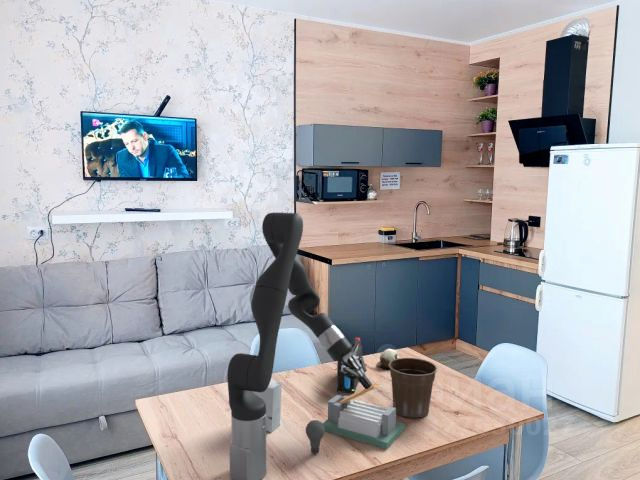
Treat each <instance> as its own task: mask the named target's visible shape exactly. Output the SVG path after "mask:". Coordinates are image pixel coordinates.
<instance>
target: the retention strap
mask: <svg viewBox="0 0 640 480" xmlns="http://www.w3.org/2000/svg"><path fill="white" fill-rule="evenodd" d="M380 385H381V384H380V382H376V383H374V384H372V385H371V386H370V387H369V388H368V389H365V388H362V390H359V391H357V392H354V393H352V394H351V395H349V397H347V398H345V399H343V400H342V401H340V402H339V403H341V404H344V403H346V402H348V401H350V402H351V401H352V400H355V399H356V398H358V397H360V396H362V395H364V394H366V393H368V392H371V391H372V390H375V389H376V388H377V387H378V386H380Z"/></svg>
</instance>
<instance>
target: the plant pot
mask: <svg viewBox="0 0 640 480" xmlns="http://www.w3.org/2000/svg"><path fill="white" fill-rule="evenodd" d="M389 368H390V371H389V372H390V373H389V374H390V378H391V389H392V407H394V408H396V415H398V416H401V417H404V418H409V419H417V418H420V417H421V418H424V417H427V416H428V415H429V411H430V405H431V398H432V390H433V385H434V382H435V378H436V373H437V372H438V367H437V365H436V364H435V363H434V362H431V361H429V360H426V359H422V358H418V357H417V358H415V357H399V359H395V360H392V361H391V362H390V363H389Z"/></svg>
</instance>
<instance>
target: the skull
mask: <svg viewBox="0 0 640 480" xmlns="http://www.w3.org/2000/svg"><path fill="white" fill-rule="evenodd" d="M399 358H400V356H399V355H398V352H397V351H396V350H395V349H392V348H387V349H385V350H384V351H383V352H382V353H381V354H380V357H379V361H378V362H377V363H376V365H375V366H376V368H380V369H381V368H382V369H385V371H386V370H387V371H389V372H390V368H389V363H390V362H391V361H392V360H395V359H399Z"/></svg>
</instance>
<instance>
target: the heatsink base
mask: <svg viewBox="0 0 640 480" xmlns="http://www.w3.org/2000/svg"><path fill="white" fill-rule="evenodd" d="M349 396H350V395H349ZM349 396H348V395H344V396H342V395H338V394H336V395H334V397H332V398H331V399H329V400H328V401H327V419H326V420H325V421H324V422H322V424H323V425H324V427H325V433H330V434H333V435H335V436H336V435H337V436H339V437H344V438H347V439H350V440H353V441H357V442H361V443H364V444H368V445H370V446H374V447H379V448H380V449H385V450H388V449H389V448H390V447H391V445H393V443H394V442H395V441H396V440H397V439H398V438H399V437H400V436H401V434H403V432H404V431H405V428H406V427H405V425H406V424H405V423H403V422H399V421H397V420H396V419H397V413H396V408H394V407H393V406H389V407H388V408H387V407H385V406H380V405H378V404H377V405H376V404H372V403H368V402H365V401H360V400H356V399H353V402H351V400H350V401H348V402H346V403H344V404H341V403H339V402H340V401H342V400H343V399H345V398H347V397H349Z"/></svg>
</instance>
